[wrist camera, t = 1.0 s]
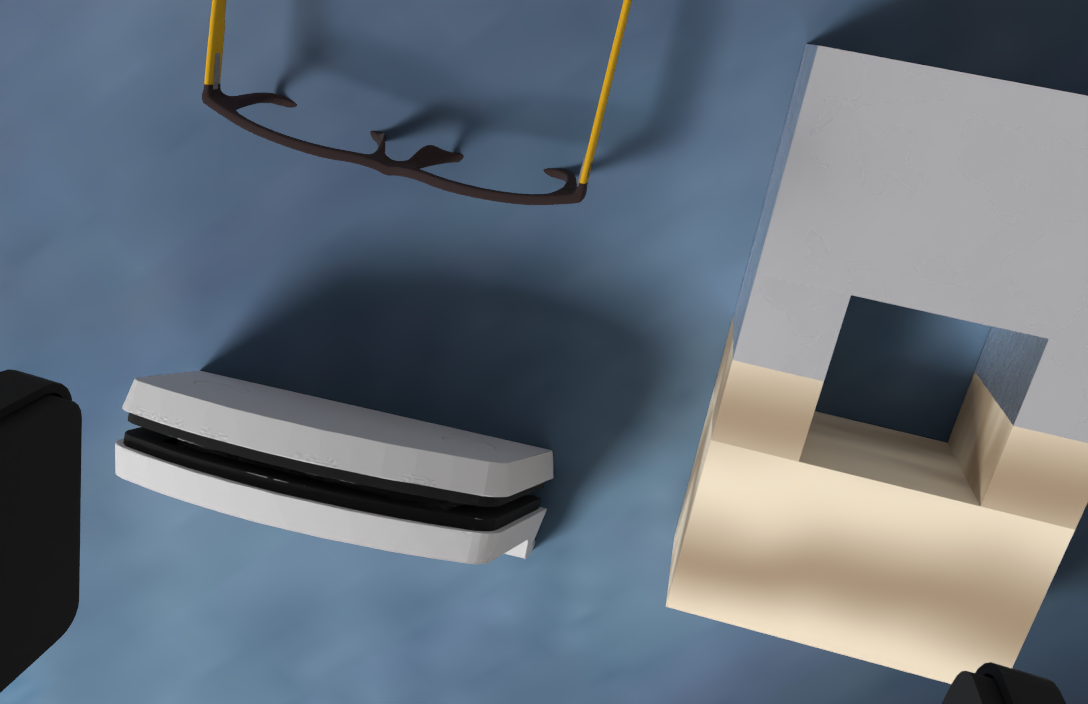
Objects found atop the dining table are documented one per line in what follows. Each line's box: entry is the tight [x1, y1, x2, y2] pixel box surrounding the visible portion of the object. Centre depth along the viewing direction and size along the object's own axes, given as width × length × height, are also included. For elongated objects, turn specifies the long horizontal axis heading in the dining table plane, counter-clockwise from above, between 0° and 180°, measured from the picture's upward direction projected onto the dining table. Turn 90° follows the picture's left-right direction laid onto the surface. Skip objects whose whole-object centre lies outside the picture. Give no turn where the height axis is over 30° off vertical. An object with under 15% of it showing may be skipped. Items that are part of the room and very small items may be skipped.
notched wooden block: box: [666, 319, 1088, 684], centre depth 33 cm, size 10×12×5 cm
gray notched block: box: [733, 44, 1088, 443], centre depth 29 cm, size 10×12×5 cm
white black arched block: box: [115, 371, 553, 564], centre depth 36 cm, size 17×5×10 cm, turn 82°
